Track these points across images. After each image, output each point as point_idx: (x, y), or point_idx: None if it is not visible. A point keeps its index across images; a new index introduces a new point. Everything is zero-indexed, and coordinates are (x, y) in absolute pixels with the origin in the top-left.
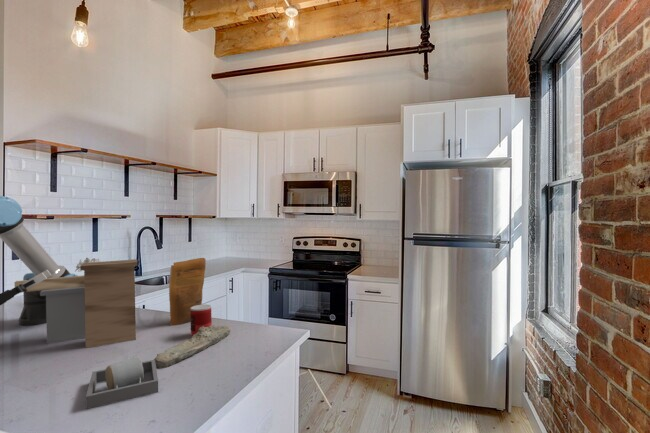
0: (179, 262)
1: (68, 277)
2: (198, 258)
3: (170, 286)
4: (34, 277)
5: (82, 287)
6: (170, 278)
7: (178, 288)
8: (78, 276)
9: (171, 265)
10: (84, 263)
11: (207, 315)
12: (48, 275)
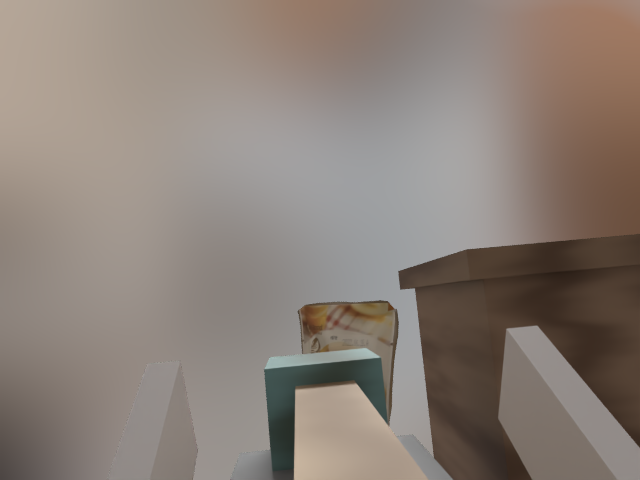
0: (375, 303)
1: (360, 411)
2: (319, 303)
3: (388, 402)
4: (595, 411)
5: (426, 474)
6: (392, 365)
7: None
8: (339, 398)
9: (396, 309)
10: (508, 246)
11: None
12: (191, 455)
